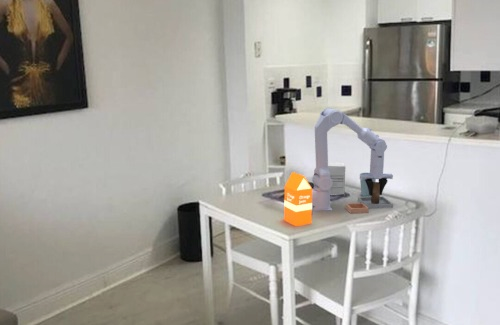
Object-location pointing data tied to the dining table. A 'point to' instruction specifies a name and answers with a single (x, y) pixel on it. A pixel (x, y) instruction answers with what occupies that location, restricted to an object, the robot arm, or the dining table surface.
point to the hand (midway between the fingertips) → (375, 194)
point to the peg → (375, 193)
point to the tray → (382, 204)
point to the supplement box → (337, 177)
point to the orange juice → (298, 200)
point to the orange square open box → (357, 208)
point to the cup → (365, 187)
